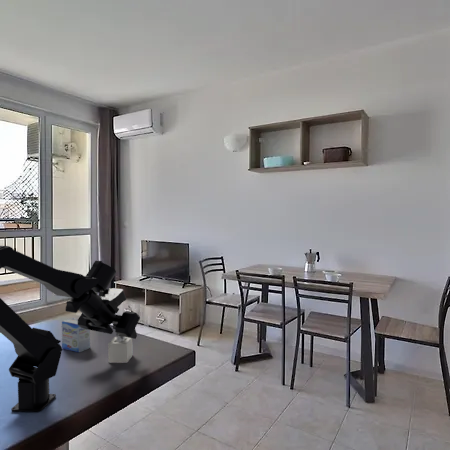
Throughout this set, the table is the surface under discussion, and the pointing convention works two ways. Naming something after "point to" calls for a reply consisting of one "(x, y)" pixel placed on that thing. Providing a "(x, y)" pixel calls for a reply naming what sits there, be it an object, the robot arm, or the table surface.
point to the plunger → (119, 338)
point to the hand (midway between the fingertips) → (123, 334)
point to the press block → (120, 350)
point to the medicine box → (74, 336)
